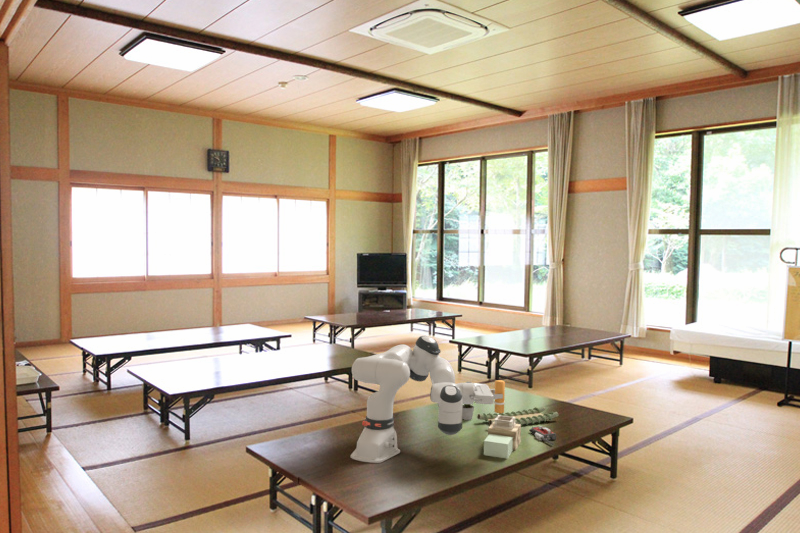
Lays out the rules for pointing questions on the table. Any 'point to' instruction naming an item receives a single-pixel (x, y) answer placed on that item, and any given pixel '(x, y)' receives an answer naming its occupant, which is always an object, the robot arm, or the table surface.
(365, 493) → the table surface
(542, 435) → the walkie-talkie
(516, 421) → the stretcher
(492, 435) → the block
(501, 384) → the orange cylinder
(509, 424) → the tan stepped block
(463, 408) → the house plant
